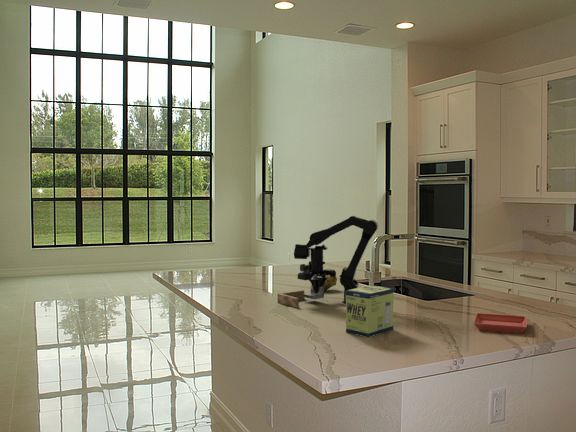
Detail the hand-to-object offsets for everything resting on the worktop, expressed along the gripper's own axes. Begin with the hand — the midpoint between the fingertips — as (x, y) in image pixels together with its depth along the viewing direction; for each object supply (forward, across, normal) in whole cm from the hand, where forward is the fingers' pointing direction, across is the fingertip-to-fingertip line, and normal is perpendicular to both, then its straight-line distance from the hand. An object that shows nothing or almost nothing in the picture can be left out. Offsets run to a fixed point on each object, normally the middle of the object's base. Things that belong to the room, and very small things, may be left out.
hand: (317, 293), depth 265 cm
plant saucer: (+4, -23, +79) cm, 82 cm away
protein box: (+4, +19, +53) cm, 57 cm away
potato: (+4, -20, -18) cm, 27 cm away
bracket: (+2, +2, 0) cm, 3 cm away
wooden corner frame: (+4, +8, -2) cm, 9 cm away
